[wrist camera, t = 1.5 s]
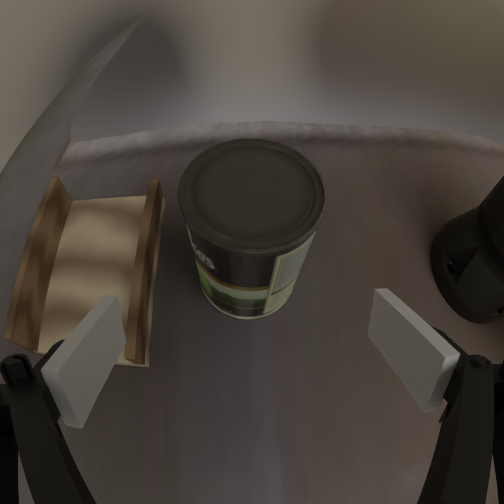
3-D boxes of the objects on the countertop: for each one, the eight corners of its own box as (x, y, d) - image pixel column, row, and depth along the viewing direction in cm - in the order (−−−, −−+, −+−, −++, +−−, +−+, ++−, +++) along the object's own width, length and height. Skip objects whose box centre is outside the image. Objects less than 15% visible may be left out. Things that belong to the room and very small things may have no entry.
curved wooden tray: (149, 367, 28) (126, 355, 22) (38, 353, 27) (4, 338, 21) (165, 202, 37) (155, 166, 32) (71, 208, 37) (51, 177, 31)
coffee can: (213, 332, 30) (193, 270, 17) (191, 245, 34) (168, 152, 22) (310, 304, 32) (353, 229, 19) (277, 224, 36) (294, 129, 24)
